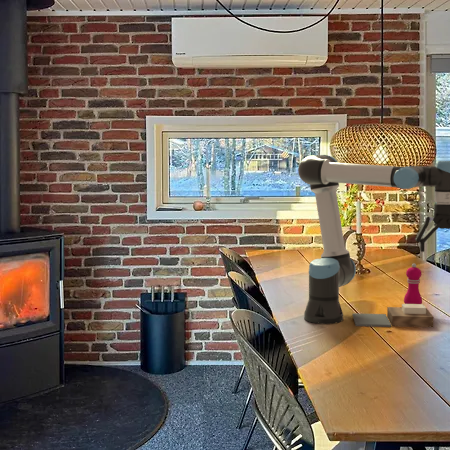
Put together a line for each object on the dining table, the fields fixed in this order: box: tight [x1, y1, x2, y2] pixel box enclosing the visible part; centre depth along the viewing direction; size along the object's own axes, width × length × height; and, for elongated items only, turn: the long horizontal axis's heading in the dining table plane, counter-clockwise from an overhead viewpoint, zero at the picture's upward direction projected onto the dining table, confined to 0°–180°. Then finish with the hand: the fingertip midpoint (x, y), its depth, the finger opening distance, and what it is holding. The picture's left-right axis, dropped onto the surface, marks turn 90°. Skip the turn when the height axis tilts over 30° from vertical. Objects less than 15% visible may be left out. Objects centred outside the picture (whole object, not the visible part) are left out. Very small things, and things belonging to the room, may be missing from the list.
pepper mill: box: [403, 263, 423, 304], centre depth 245 cm, size 7×7×20 cm
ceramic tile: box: [401, 303, 427, 314], centre depth 230 cm, size 8×6×2 cm
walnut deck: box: [386, 306, 434, 328], centre depth 231 cm, size 15×13×4 cm
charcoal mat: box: [352, 312, 392, 328], centre depth 233 cm, size 13×15×1 cm
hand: (443, 260), depth 221 cm, fingers open, 13 cm apart
